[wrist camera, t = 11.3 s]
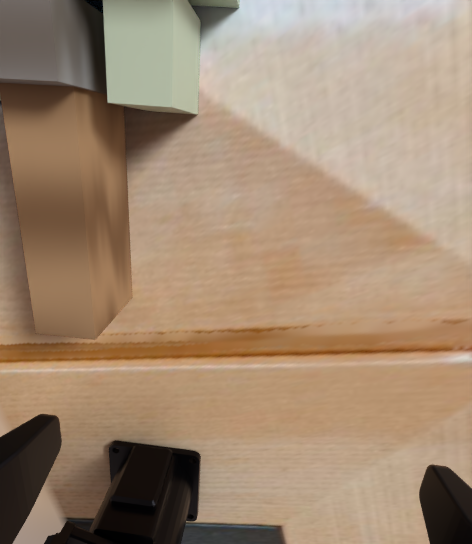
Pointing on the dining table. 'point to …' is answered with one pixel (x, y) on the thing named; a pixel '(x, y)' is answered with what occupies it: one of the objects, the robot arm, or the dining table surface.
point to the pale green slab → (154, 53)
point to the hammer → (66, 164)
